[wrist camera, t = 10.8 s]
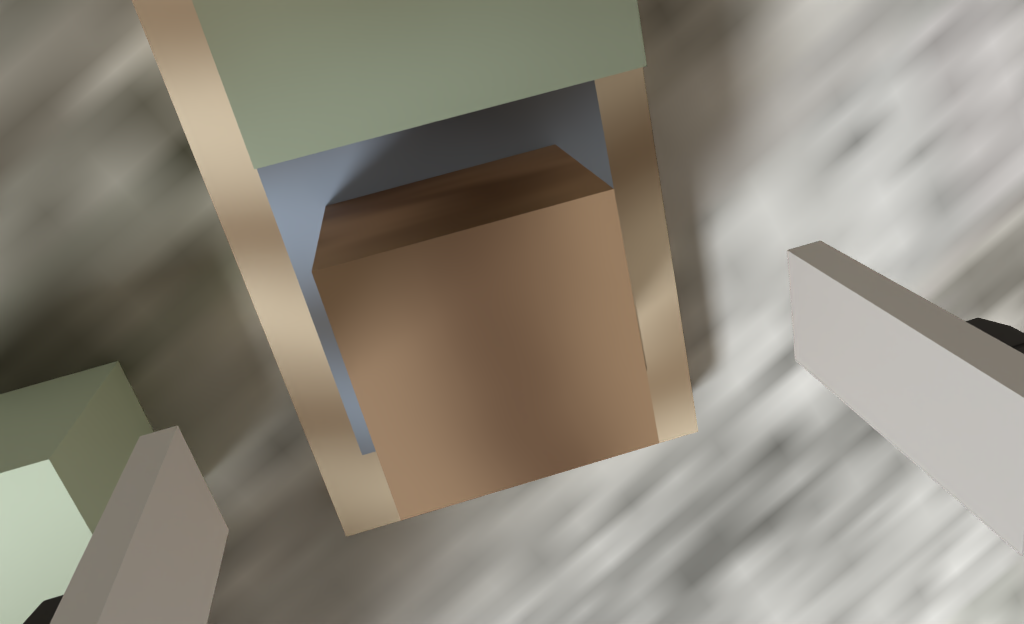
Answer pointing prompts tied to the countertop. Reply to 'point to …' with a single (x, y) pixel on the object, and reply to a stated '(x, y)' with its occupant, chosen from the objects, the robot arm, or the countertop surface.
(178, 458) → the robot arm
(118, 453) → the sage block
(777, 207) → the countertop surface
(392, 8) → the tower
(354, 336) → the walnut block
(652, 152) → the blueprint board
